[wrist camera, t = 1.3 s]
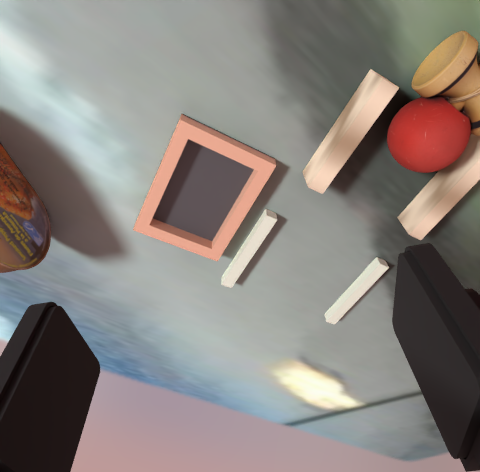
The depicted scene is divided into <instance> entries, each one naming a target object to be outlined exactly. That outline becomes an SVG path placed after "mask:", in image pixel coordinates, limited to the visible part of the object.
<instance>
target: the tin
mask: <svg viewBox="0 0 480 472" xmlns="http://www.w3.org/2000/svg"><path fill="white" fill-rule="evenodd" d="M50 241H51V226H50V220H49V217H48V214H47V211H46V209H45V206H44V205H43V203H42V201H41V199H40V198H39V196H38V195H37V194H36V192H35V191H34V190H33V188H32V187H31V185H30V184H29V183H28V181H27V180H26V179H25V177H24V176H23V174H22V173H21V172H20V170H19V169H18V168H17V166H16V165H15V163H14V162H13V161H12V159H11V158H10V156H9V155H8V154H7V152H6V151H5V149H4V148H3V147H2V145H1V144H0V273H4V272H11V271H15V270H25V269H29V268H32V267H34V266H36V265H38V264H39V263H40V262H41V261H42V260H43V259H44V257H45V256H46V254H47V252H48V250H49V246H50Z"/></svg>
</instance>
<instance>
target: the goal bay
mask: <svg viewBox="0 0 480 472" xmlns="http://www.w3.org/2000/svg"><path fill="white" fill-rule="evenodd" d="M276 221H277V215H276V213H274V212H272V211H270V210H267V209H265V210H264V212H263V214H262V215H261V217H260V218H259V220H258V221H257V223H256V224H255V226H254V228H253V229H252V231H251V232H250V234H249V235H248V237H247V238H246V240H245V242H244V243H243V245H242V246H241V248H240V249H239V251H238V253H237V254H236V256H235V257H234V259H233V260H232V262H231V263H230V265H229V267H228V268H227V270H226V271H225V273H224V274H223V276H222V285H224V286H227V287H230V288H232V286H233V285H234V283H235V282H236V280H237V279H238V277H239V276H240V275H241V273H242V272H243V270H244V269H245V267H246V266H247V264H248V263H249V261H250V260H251V258H252V257H253V255H254V254H255V252H256V251H257V249H258V248H259V246H260V245H261V243H262V242H263V240H264V239H265V238H266V236H267V235H268V233H269V232H270V230H271V229H272V227H273V226H274V224H275V223H276ZM388 268H389V267H388V265H387V263H386V261H385V260H383V259H380V258H378V257H376V258H375V259H374V260H373V261H372V262H371V264H370V265H369V266H368V267H367V268H366V269H365V270H364V271H363V272H362V273H361V275H360V276H359V277H358V278H357V279H356V280H355V281H354V282H353V283H352V284H351V285H350V287H349V288H348V289H347V290H346V291H345V292H344V293H343V294H342V295H341V296H340V298H339V299H338V300H337V301H336V302H335V303H334V304H333V305H332V306H331V307H330V308H329V310H328V311H327V312H326V313H325V318H326V321H327V322H329V323H332V324H336V323H337V321H338V320H339V319H340V318H341V317H342V316H343V315H344V314H345V313H346V312H347V311H348V310H349V309H350V308H351V307H352V306H353V305H354V304H355V303H356V302H357V301H358V299H359V298H360V297H361V296H362V295H363V294H364V293H365V292H366V291H367V290H368V289H369V288H370V287H371V286H372V285H373V284H374V283H375V282H376V281H377V280H378V279H379V277H380V276H381V275H382V274H383V273H384V272H385V271H386V270H387V269H388Z"/></svg>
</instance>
